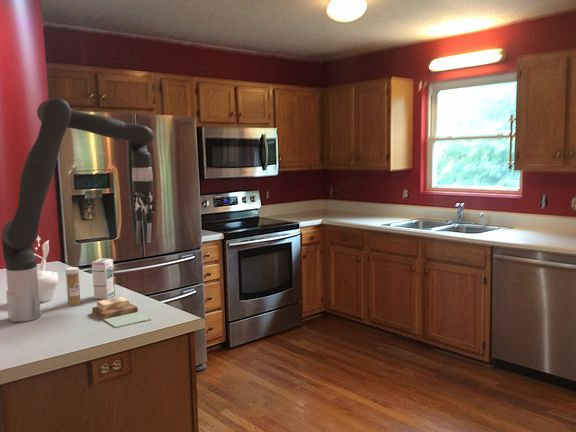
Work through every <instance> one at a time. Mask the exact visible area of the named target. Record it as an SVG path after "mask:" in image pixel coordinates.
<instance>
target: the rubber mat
mask: <svg viewBox="0 0 576 432" xmlns="http://www.w3.org/2000/svg"><path fill="white" fill-rule="evenodd" d="M151 320H152V318H151V317H149V316H146V315H145V314H144V313H141V312H139V311H138V312H136V313H131V314H126V315H121V316H117V317H112V318H107V319H104V320H103V321H104V322H105V321H106V324H109V325H110V326H112V327H113V328H115V329H117V328H121V327H126V326H131V325H135V324H139V323H143V322H149V321H151Z"/></svg>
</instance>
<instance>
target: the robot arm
mask: <svg viewBox="0 0 576 432" xmlns="http://www.w3.org/2000/svg"><path fill="white" fill-rule="evenodd" d="M36 114H37V117H38V119H39V121H40V122H41V123H40V124H41V125H40V129H39V131H38V135H37V137H36V140H35V142H34V143H33V145H32V147H31V149H30V150H29V152H28V154H27V156H26V158H25V160H24V164H23V167H22V171H21V175H20V179H19V185H18V187H19V189H18V202H17V208H16V209H15V210H16V211H15V213H14V216H13V219H12V220H9V221H8V222H5V224H4V226H3V227H2V230H1V245H2V253H3V254H2V256H3V260H4V264H5V272H6V284H7V290H6V291H5V293H6V303H7V317H8V320H9V321H10V322H11V323H21V322H22V323H23V322H29V321H33V320H36V319H39V318H40V317H41V304H40V303H41V302H39V289H38V275H37V271H38V263H37V256H36V255H34V254H35V251H34V243H35V241H37V240H36V239H37V238H38V231H39V225H40V220H41V214H42V211H43V207H44V204H45V201H46V198H47V195H48V193H49V189H50V186H51V183H52V181H53V177H54V173H55V169H56V165H57V160H58V157H59V152H60V148H61V144H62V140H63V138H64V135H65V133H66V131H67V129H74V130H79V131H84V132H88V133H91V134H95V135H98V136H102V137H106V138H110V139H114V140H118V141H128V145H129V150H130V153H131V156H132V159H131V160H132V161H131V163H132V164H131V166H132V172H131V178H132V181H131V183H132V192H133V193H132V209H133V210H134V211H135V215H136V217H135V218H136V221H137V222H142V221H144V220H143V210H144V211H145V212H144V213H145V223H146V224H152V223H153V213H155V211H156V206H155V196H154V195H151V194H150V193H152V192H154V178H153V177H154V175H153V165H152V164H153V163H152V154H151V153H150V152H149V151H148V147H147V145H149V144H151V143H152V142H153V141H154V136H155V135H154V131H153V130H152V129H151V128H149V126H146V125H141V124H137V123H130V122H125V121H123V120H120V119H117V118H114V117H113V118H112V117H108V116H103V115H99V114H93V113H92V114H91V113H85V112H82V111H78V110H74V109H73V108H71V106H70V104H69V103H68V102H67V101H66V100H65V99H62V98H57V97H55V98H50V99H46V100H44V101H43V102H41V103H40V104H39V105H38V107H37V110H36Z"/></svg>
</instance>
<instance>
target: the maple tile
mask: <svg viewBox="0 0 576 432" xmlns="http://www.w3.org/2000/svg"><path fill="white" fill-rule="evenodd" d="M129 303H130V300H129V299H128V298H125V297H123V296H118V297H113V298H112V297H111V298H108V299H101V300H99V301H96V307H98V308H99V309H101V310H103V311H106V310H111V309H116V308H120V307H125V306H129Z"/></svg>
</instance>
